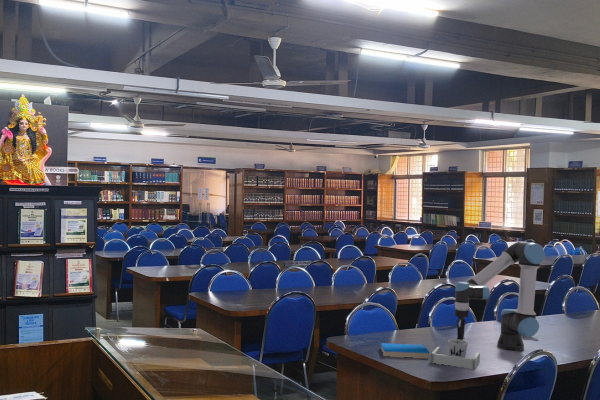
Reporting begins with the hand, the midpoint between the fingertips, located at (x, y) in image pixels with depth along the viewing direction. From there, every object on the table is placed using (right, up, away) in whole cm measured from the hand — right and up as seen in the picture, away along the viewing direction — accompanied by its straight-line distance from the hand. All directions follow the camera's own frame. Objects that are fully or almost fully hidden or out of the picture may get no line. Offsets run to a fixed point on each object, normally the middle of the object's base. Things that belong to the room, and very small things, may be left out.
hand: (460, 350), depth 316 cm
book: (-32, -2, -2) cm, 32 cm away
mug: (-4, -2, -9) cm, 10 cm away
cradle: (-7, -2, -15) cm, 17 cm away
